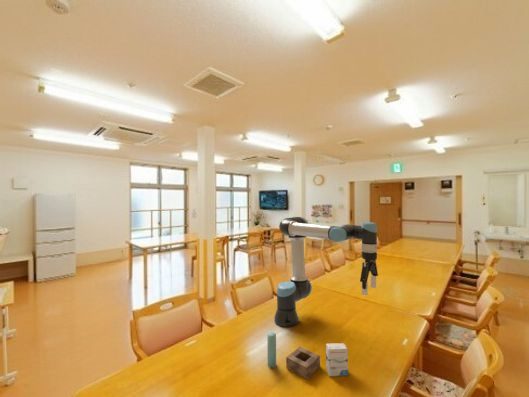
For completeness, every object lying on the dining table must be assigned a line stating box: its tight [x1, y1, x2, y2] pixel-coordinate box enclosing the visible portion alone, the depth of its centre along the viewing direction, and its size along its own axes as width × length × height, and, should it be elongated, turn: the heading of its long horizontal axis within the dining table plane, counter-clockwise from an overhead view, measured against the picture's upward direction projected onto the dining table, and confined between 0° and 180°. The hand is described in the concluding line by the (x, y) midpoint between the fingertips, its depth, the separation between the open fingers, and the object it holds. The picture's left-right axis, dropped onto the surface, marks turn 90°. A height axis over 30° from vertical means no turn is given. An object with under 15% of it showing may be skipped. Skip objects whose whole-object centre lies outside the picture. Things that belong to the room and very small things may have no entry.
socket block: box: [285, 346, 321, 380], centre depth 116 cm, size 11×11×5 cm
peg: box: [266, 331, 277, 369], centre depth 118 cm, size 4×4×14 cm
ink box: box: [325, 342, 349, 377], centre depth 113 cm, size 8×5×12 cm, turn 92°
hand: (369, 291), depth 136 cm, fingers open, 13 cm apart
